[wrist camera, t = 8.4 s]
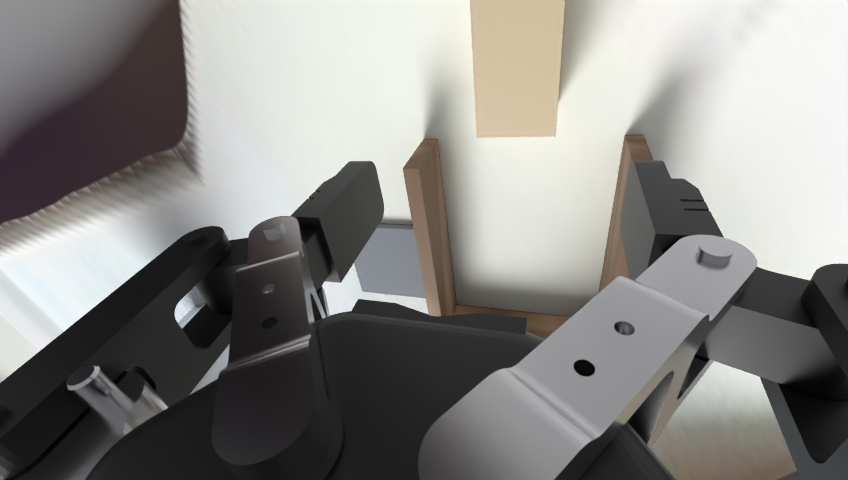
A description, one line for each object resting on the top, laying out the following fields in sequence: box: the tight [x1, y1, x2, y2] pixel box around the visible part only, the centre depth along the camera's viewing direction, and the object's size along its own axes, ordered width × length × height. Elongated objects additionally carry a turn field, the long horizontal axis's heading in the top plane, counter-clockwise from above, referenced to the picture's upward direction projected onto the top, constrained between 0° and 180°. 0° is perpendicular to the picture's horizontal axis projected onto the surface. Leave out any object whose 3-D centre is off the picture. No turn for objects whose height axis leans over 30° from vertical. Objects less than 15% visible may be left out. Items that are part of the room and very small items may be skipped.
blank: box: [470, 0, 565, 137], centre depth 20 cm, size 4×7×5 cm, turn 8°
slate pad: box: [354, 224, 426, 298], centre depth 35 cm, size 8×8×1 cm
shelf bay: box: [403, 135, 653, 339], centre depth 28 cm, size 14×17×4 cm
